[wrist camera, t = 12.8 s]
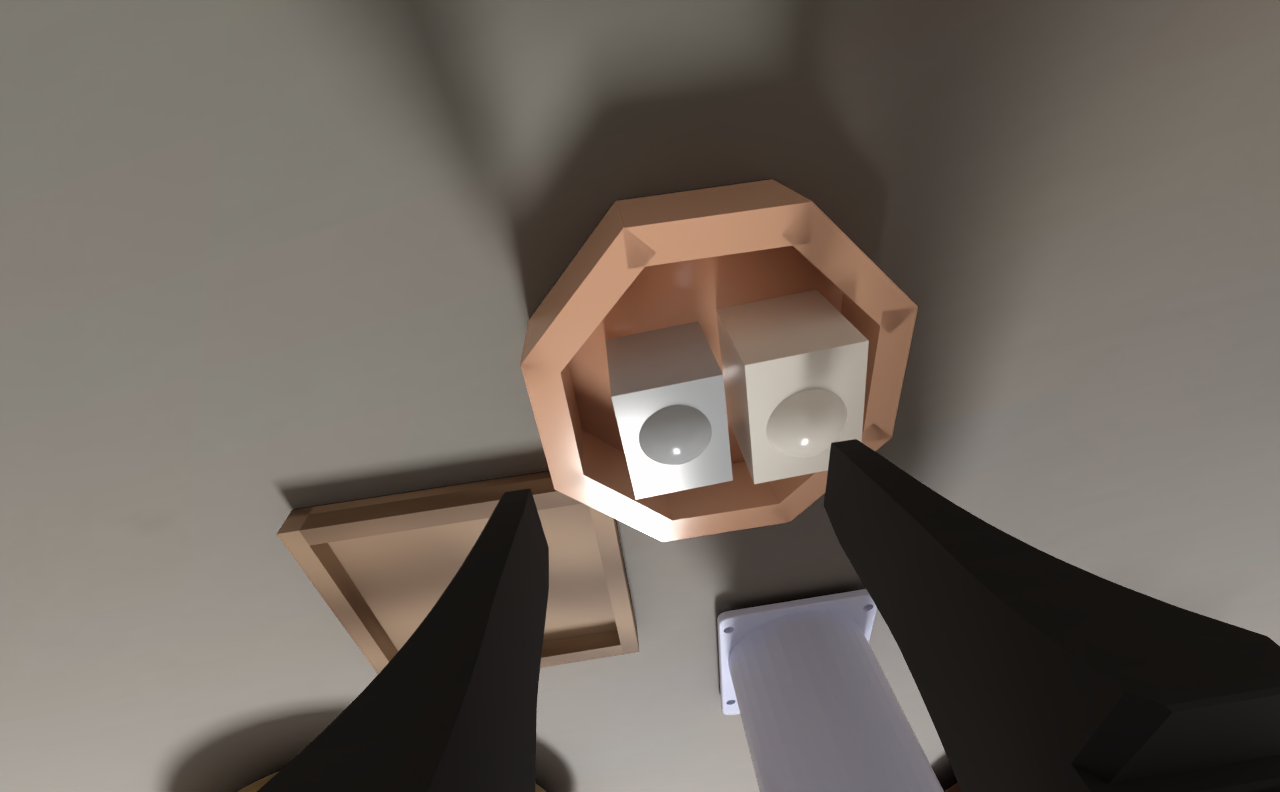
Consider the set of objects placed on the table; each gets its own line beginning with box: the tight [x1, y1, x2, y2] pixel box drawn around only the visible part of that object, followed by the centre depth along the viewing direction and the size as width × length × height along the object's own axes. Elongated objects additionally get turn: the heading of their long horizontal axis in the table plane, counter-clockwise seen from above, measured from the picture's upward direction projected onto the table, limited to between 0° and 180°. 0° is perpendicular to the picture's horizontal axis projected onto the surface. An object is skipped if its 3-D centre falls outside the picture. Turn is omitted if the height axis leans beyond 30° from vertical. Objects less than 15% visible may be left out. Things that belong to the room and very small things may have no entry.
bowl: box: [520, 179, 919, 542], centre depth 16 cm, size 11×11×3 cm
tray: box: [277, 471, 639, 674], centre depth 22 cm, size 11×12×1 cm
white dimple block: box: [716, 289, 869, 484], centre depth 15 cm, size 4×3×4 cm
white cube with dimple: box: [606, 321, 733, 500], centre depth 16 cm, size 4×3×4 cm
